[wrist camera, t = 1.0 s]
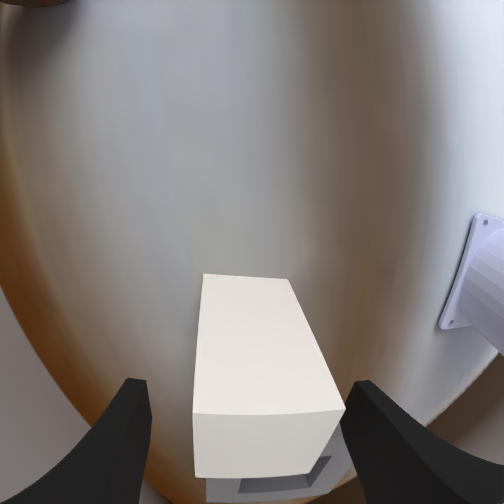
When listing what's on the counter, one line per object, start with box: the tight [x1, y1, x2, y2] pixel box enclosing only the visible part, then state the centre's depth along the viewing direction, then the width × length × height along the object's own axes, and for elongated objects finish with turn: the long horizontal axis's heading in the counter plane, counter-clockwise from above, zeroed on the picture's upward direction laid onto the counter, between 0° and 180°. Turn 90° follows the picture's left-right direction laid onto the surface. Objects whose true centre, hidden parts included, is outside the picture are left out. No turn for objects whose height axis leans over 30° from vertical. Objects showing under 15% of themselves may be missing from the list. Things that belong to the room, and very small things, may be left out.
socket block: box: [206, 403, 353, 503], centre depth 18 cm, size 11×11×3 cm
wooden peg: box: [193, 274, 346, 478], centre depth 11 cm, size 4×4×8 cm
